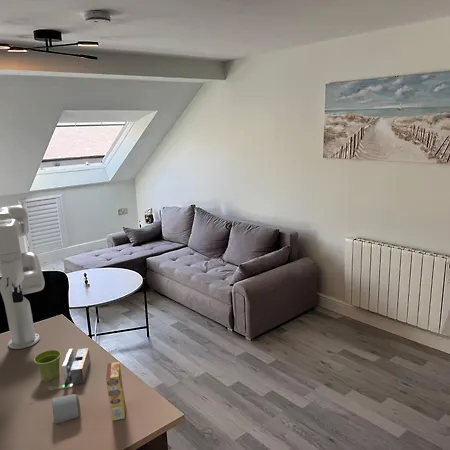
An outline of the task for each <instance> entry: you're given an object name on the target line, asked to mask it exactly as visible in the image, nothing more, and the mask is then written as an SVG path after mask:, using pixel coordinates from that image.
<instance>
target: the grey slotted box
mask: <svg viewBox="0 0 450 450" xmlns="http://www.w3.org/2000/svg"><path fill="white" fill-rule="evenodd" d="M90 365H91V355H90V350H89V347H85V348H78V349H77V351H76V354H75V357H74V362H73V365H72V367H71V377H70V378H71V382H72V383H67V385H66V386H64V384H60V385H53V386H52V385H51V386H49V387H48V391H54V390H63V389H68V388H73V386H74V385H81V384H85V383H86V382H85V381H86V378H87V375H88V371H89V368H90Z"/></svg>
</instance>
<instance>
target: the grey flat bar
mask: <svg viewBox="0 0 450 450" xmlns="http://www.w3.org/2000/svg"><path fill="white" fill-rule="evenodd" d="M74 361H75V357H74V351H73V348H69V349H68V351H67V353H66V356H65V359H64V361H63V364H62V372H63V373H62V374H63V377H64V383H63V385H64V386H66V385H67V384H70V383H69V382H70V379H71V378H72V377H71V367H72V365H73V362H74Z"/></svg>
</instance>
